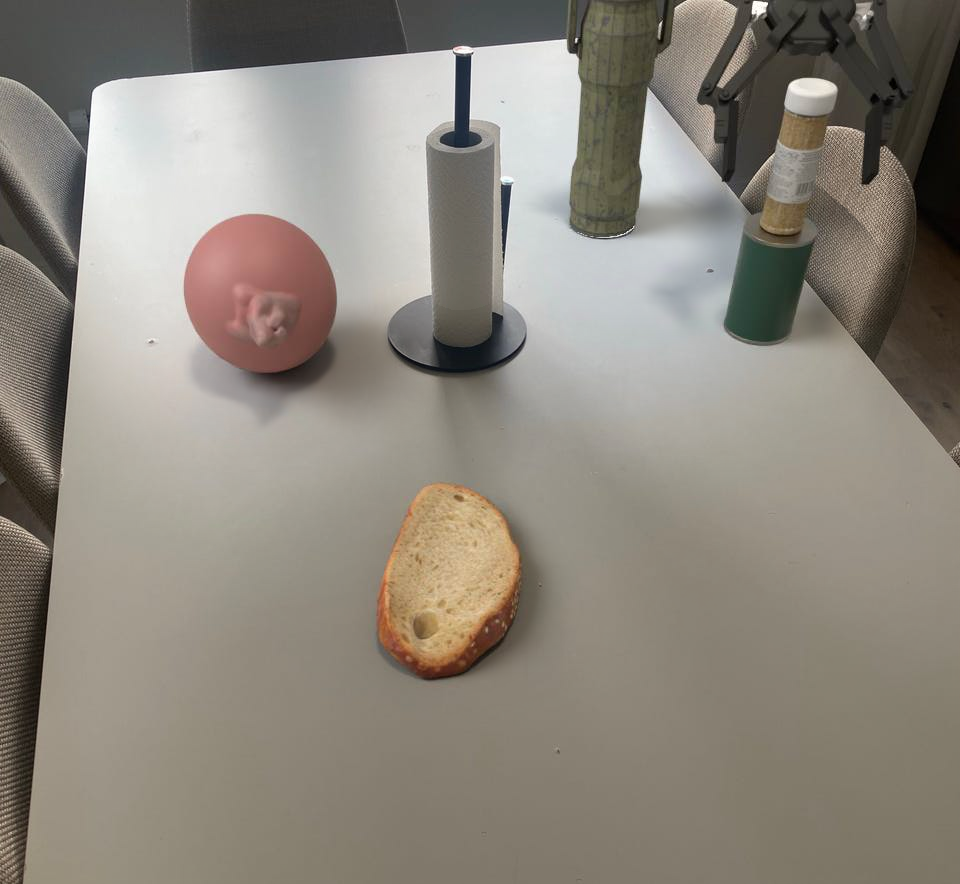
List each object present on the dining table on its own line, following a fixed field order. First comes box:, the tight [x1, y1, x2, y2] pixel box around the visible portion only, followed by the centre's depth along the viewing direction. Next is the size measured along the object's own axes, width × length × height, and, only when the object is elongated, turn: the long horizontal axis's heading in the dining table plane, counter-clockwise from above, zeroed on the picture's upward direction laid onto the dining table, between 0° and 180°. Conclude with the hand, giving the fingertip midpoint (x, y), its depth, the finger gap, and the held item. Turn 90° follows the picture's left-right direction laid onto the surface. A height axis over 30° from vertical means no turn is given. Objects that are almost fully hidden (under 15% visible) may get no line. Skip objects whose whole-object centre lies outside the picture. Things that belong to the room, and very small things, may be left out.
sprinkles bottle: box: [760, 77, 839, 235], centre depth 93 cm, size 5×5×13 cm
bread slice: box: [376, 482, 523, 680], centre depth 79 cm, size 18×18×4 cm
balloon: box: [183, 213, 338, 374], centre depth 96 cm, size 15×20×15 cm
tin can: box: [723, 211, 819, 346], centre depth 102 cm, size 8×8×12 cm
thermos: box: [566, 0, 677, 237], centre depth 110 cm, size 9×12×35 cm
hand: (798, 178), depth 92 cm, fingers open, 13 cm apart
